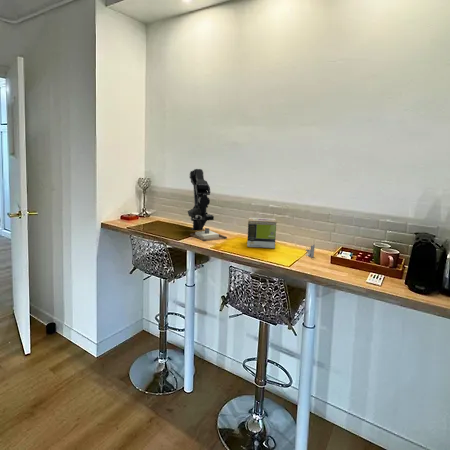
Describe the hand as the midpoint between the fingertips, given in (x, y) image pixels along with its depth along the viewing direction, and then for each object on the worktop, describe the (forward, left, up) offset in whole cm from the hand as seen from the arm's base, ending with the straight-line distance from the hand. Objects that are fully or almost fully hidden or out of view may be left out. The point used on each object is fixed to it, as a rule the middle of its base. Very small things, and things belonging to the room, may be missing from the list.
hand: (201, 229), depth 208 cm
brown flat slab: (+8, 0, -3) cm, 9 cm away
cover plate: (+7, 0, -3) cm, 7 cm away
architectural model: (+61, +21, -4) cm, 65 cm away
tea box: (+36, +17, -4) cm, 40 cm away
